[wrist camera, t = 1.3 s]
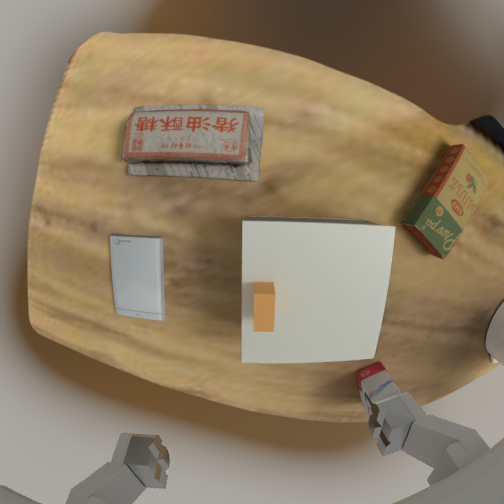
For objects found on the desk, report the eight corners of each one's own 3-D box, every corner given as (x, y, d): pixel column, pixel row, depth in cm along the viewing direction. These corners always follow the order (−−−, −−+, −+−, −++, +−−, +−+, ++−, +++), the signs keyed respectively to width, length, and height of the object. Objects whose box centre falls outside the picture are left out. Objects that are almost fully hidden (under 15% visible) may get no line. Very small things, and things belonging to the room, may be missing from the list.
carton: (475, 180, 36) (491, 181, 31) (430, 255, 39) (445, 262, 34) (448, 144, 34) (464, 142, 30) (399, 222, 37) (413, 226, 33)
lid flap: (392, 225, 29) (410, 231, 25) (371, 355, 33) (383, 373, 29) (242, 220, 29) (240, 225, 25) (242, 359, 33) (240, 380, 29)
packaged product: (115, 175, 32) (124, 100, 30) (130, 175, 37) (138, 108, 35) (258, 181, 32) (266, 99, 30) (258, 182, 37) (265, 110, 35)
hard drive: (108, 235, 37) (114, 314, 40) (160, 238, 37) (163, 321, 40) (114, 233, 39) (119, 310, 41) (164, 236, 39) (166, 317, 41)
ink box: (355, 370, 43) (377, 416, 31) (382, 359, 42) (410, 402, 31) (360, 403, 44) (379, 448, 33) (385, 393, 44) (408, 435, 32)
